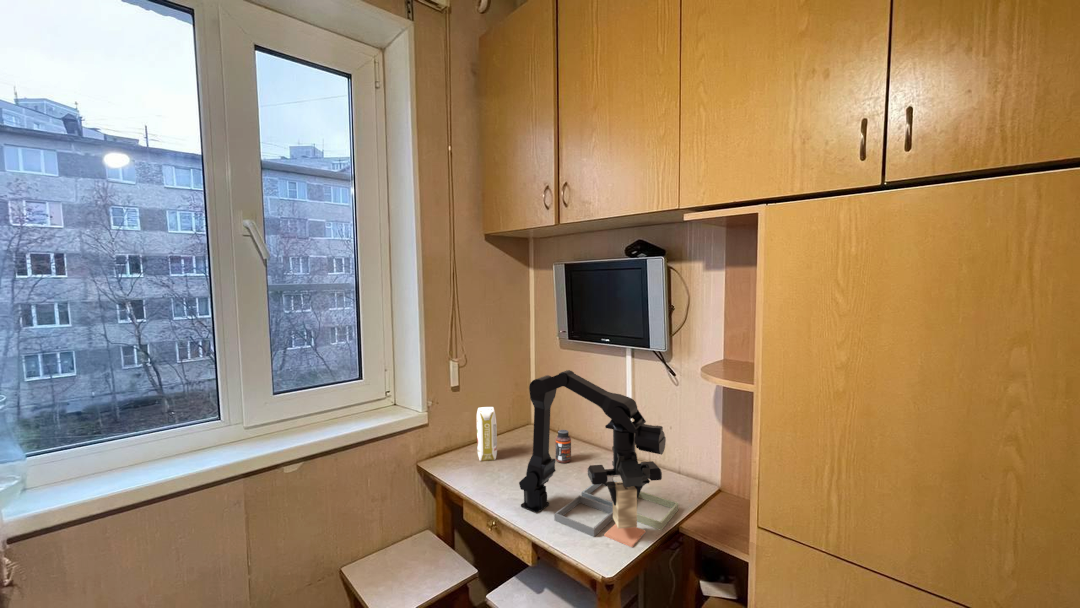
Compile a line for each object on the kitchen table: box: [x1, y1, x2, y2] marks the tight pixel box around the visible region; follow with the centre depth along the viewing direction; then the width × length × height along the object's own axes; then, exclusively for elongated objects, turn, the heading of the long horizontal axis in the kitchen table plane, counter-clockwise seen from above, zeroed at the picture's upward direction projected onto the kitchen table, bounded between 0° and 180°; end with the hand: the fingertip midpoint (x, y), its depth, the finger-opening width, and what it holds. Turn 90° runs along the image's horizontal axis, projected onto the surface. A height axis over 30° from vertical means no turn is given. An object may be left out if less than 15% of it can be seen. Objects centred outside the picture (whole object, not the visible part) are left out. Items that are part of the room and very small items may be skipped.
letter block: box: [613, 480, 638, 529], centre depth 111 cm, size 5×5×10 cm
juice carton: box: [476, 406, 498, 462], centre depth 163 cm, size 8×9×19 cm
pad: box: [604, 523, 646, 548], centre depth 111 cm, size 8×8×1 cm
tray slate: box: [581, 479, 619, 507], centre depth 131 cm, size 13×13×2 cm
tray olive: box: [637, 490, 680, 531], centre depth 122 cm, size 13×13×2 cm
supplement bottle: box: [555, 429, 572, 464], centre depth 159 cm, size 6×6×11 cm
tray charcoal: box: [553, 494, 614, 538], centre depth 119 cm, size 13×13×2 cm
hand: (624, 503), depth 111 cm, fingers closed on letter block, 5 cm apart
